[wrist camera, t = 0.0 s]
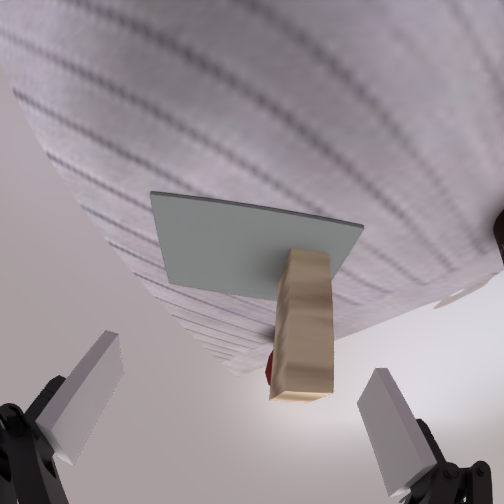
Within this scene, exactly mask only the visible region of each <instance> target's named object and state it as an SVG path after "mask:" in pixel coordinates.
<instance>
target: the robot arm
mask: <svg viewBox="0 0 504 504" xmlns="http://www.w3.org/2000/svg"><path fill="white" fill-rule="evenodd" d="M123 374H124V371H123V365H122V358H121V350H120V342H119V335H118V334H117V333H114V332H110V331H106V330H105V331H104V333H103V334H102V335H101V336H100V338H99V339H98V340H97V341H96V342H95V344H94V345H93V346H92V347H91V348H90V350H89V351H88V352H87V353H86V355H85V356H84V357H83V358H82V360H81V361H80V362H79V363H78V365H77V366H76V367H75V368H74V370H73V371H72V372H71V374H70V375H69V376H68V377H67V379H66V378H64V377H62V376H60V375H58V376H57V377H55V378H53V379H52V380H50V381H49V382H48V384H47V385H46V387H45V388H44V389H43V390H42V391H41V393H40V395H38V397H37V398H36V399H35V400H34V401H33V403H32V404H31V405H30V407H29V408H28V409H27V411H26V412H25V413H23V411H22V410H21V409H20V407H19V406H17V405H15V404H12V403H7V404H3V405H2V406H0V504H17V499H18V502H19V504H69V503H68V500H67V498H66V495H65V492H64V490H63V487H62V484H61V481H60V479H59V475H58V472H57V469H56V466H55V462H54V460H53V458H52V456H53V454H54V452H55V453H56V454H57V456H58V457H59V458H60V459H62V460H64V461H65V462H68V463H69V464H71V465H75V463H76V461H77V459H78V457H79V455H80V453H81V451H82V449H83V447H84V445H85V443H86V442H87V440H88V438H89V436H90V434H91V432H92V430H93V428H94V426H95V425H96V423H97V421H98V419H99V417H100V415H101V413H102V411H103V410H104V408H105V406H106V404H107V403H108V401H109V399H110V397H111V395H112V394H113V392H114V390H115V388H116V387H117V385H118V383H119V381H120V379H121V378H122V376H123ZM357 405H358V408H359V411H360V413H361V416H362V419H363V422H364V424H365V427H366V430H367V433H368V436H369V438H370V441H371V444H372V447H373V450H374V453H375V456H376V459H377V462H378V465H379V468H380V471H381V474H382V477H383V480H384V483H385V486H386V489H387V493H388V496H389V497H392V496H395V495H399V494H402V493H404V492H405V491H406V490H407V489H409V488H410V489H411V492H410V493H409V494H408V495H406V496H405V497H404V498H403V499H401V501H400V502H399V503H402V502H403V501H404V500H406V501H405V503H404V504H493V498H492V480H491V470H490V467H489V465H488V464H487V463H486V462H484V461H477V462H476V463H475V464H473V466H471V467H469V468H459V467H458V466H457V465H456V464H453V463H450V462H446V460H445V458H444V456H443V454H442V452H441V450H440V449H439V446H438V445H437V443H436V441H435V440H434V437H433V435H432V434H431V431H430V429H429V427H428V426H427V424H426V423H424V421H422V420H421V419H415V417H414V415H413V414H412V412H411V410H410V408H409V406H408V404H407V403H406V401H405V399H404V397H403V395H402V394H401V392H400V390H399V388H398V386H397V385H396V383H395V381H394V379H393V378H392V376H391V374H390V372H389V370H388V369H387V368H375V370H374V372H373V374H372V376H371V378H370V380H369V382H368V384H367V386H366V388H365V389H364V391H363V393H362V395H361V397H360V399H359V400H358V402H357ZM465 497H466V502H464V500H463V499H464V498H465Z"/></svg>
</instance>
